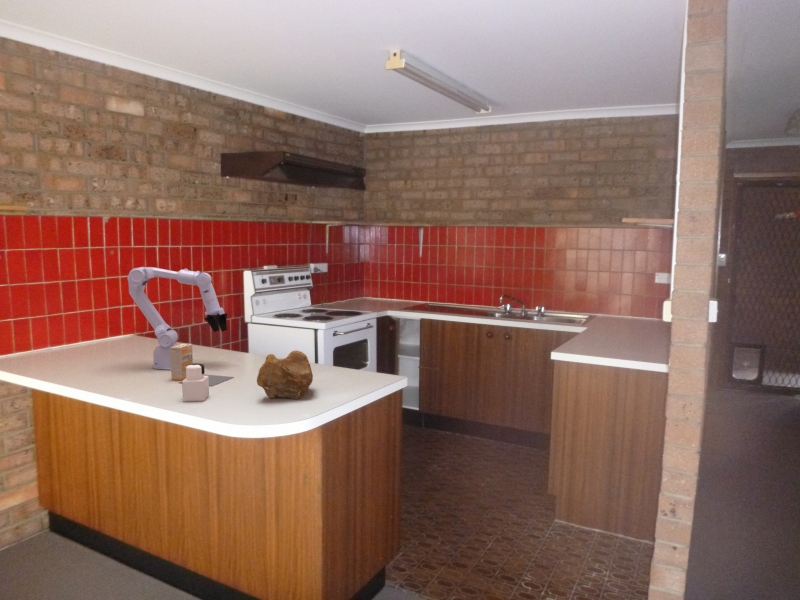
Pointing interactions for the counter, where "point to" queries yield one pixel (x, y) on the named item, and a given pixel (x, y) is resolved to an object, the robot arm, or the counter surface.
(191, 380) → the medicine bottle
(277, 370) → the rough brown rock
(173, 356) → the supplement box
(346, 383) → the counter surface
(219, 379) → the mat
